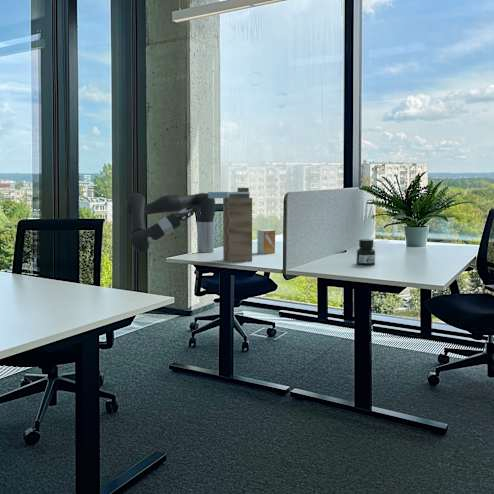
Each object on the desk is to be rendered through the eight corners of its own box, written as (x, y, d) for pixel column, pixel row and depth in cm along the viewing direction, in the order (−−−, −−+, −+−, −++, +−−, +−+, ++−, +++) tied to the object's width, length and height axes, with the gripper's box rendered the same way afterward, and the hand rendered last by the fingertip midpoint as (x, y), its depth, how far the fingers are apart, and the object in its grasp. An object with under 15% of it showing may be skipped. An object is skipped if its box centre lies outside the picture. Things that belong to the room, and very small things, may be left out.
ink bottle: (359, 265, 262) (360, 241, 261) (352, 263, 271) (353, 239, 269) (378, 265, 264) (379, 240, 263) (371, 262, 273) (371, 238, 271)
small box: (263, 254, 300) (263, 230, 298) (257, 253, 305) (257, 229, 303) (275, 253, 304) (275, 230, 302) (268, 252, 309) (268, 229, 308)
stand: (223, 259, 281) (223, 193, 276) (245, 258, 285) (245, 193, 281) (229, 262, 272) (229, 194, 267) (252, 261, 276) (252, 194, 271)
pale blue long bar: (208, 198, 270) (208, 188, 269) (247, 197, 278) (247, 187, 277) (209, 198, 267) (209, 188, 267) (249, 197, 275) (249, 187, 274)
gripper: (169, 229, 271) (196, 212, 274) (176, 231, 257) (204, 213, 261) (161, 216, 268) (188, 199, 272) (168, 218, 255) (196, 200, 259)
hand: (196, 206), depth 267 cm, fingers open, 8 cm apart
